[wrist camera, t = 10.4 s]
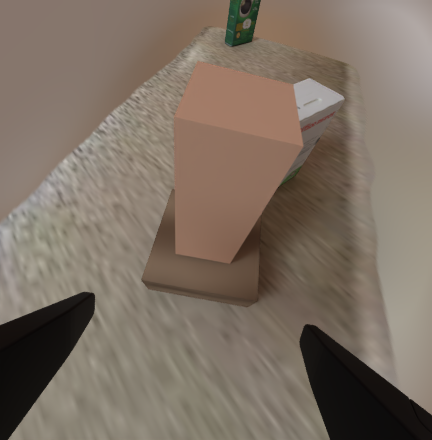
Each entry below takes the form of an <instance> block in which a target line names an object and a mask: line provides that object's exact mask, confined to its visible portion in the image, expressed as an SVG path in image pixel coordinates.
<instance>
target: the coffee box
mask: <svg viewBox="0 0 432 440" xmlns="http://www.w3.org/2000/svg"><path fill="white" fill-rule="evenodd" d="M260 1H261V0H230V8H229V15H228V23H227V30H226V37H225V43H226V44H228V45H229V46H234V45H239V44H242V43H248V42H251V41H252V38H253V33H254V29H255V24H256V20H257V15H258V11H259V6H260Z"/></svg>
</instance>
